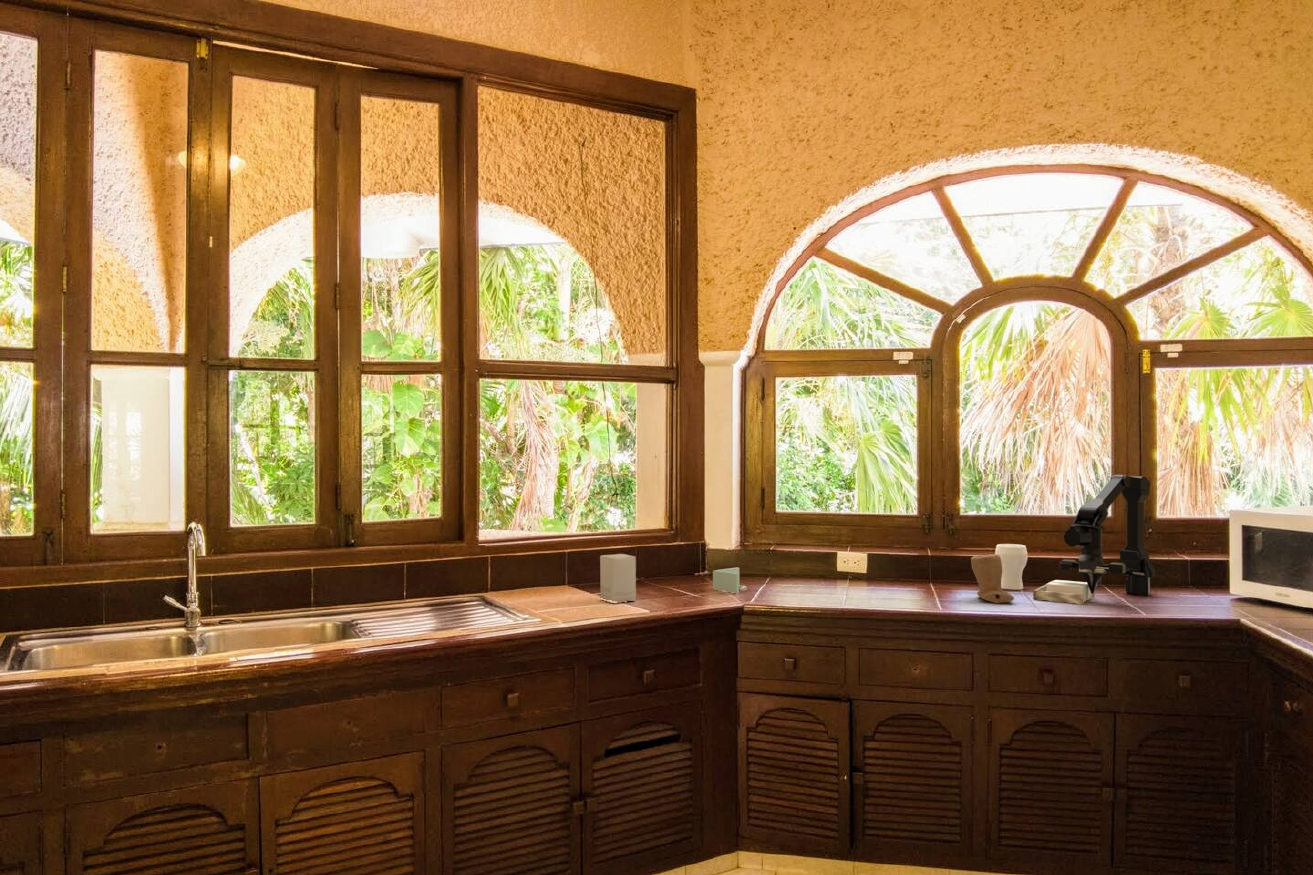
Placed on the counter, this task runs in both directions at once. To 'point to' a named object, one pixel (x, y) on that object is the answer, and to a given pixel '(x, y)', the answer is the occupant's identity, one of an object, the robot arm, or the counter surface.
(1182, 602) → the counter surface
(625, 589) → the supplement box
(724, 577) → the sage green wedge block
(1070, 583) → the carton
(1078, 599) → the tan tray
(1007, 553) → the cup
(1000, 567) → the brown boot
